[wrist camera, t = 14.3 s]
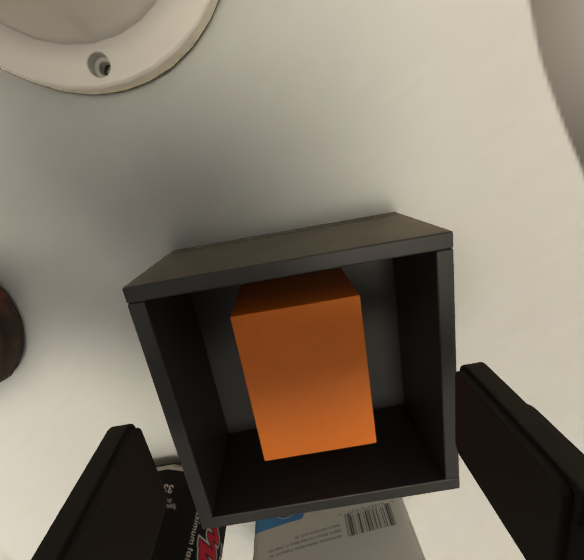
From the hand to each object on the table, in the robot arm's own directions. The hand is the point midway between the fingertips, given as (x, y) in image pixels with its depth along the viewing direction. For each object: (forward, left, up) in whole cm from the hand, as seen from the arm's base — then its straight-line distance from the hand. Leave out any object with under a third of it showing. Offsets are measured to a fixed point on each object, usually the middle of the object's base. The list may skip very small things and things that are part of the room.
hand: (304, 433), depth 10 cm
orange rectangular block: (+1, 0, -8) cm, 8 cm away
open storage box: (+1, 0, -9) cm, 9 cm away
